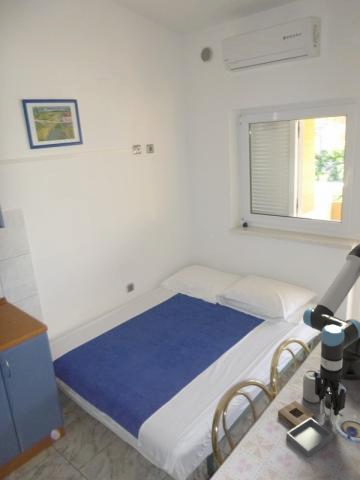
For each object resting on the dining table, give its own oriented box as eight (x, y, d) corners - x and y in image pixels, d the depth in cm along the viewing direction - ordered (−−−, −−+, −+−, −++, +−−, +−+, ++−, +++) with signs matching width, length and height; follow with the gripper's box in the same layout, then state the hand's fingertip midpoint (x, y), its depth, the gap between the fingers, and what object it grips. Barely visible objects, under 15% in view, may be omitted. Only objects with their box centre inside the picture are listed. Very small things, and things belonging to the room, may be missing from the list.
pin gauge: (327, 418, 148) (329, 389, 144) (334, 423, 146) (335, 393, 142) (322, 422, 147) (323, 392, 143) (328, 427, 144) (330, 397, 140)
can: (322, 404, 156) (323, 380, 152) (303, 403, 157) (304, 379, 154) (319, 392, 163) (320, 369, 159) (301, 391, 164) (302, 368, 161)
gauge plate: (295, 405, 157) (295, 400, 156) (314, 419, 148) (314, 414, 148) (278, 415, 152) (278, 410, 151) (297, 431, 144) (297, 426, 143)
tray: (310, 422, 147) (310, 417, 146) (332, 439, 139) (332, 434, 138) (286, 438, 141) (286, 432, 140) (307, 456, 132) (308, 451, 132)
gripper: (305, 358, 144) (304, 407, 151) (345, 381, 130) (341, 435, 137) (318, 351, 147) (317, 399, 154) (358, 373, 133) (354, 426, 140)
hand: (328, 416), depth 145 cm, fingers open, 4 cm apart
